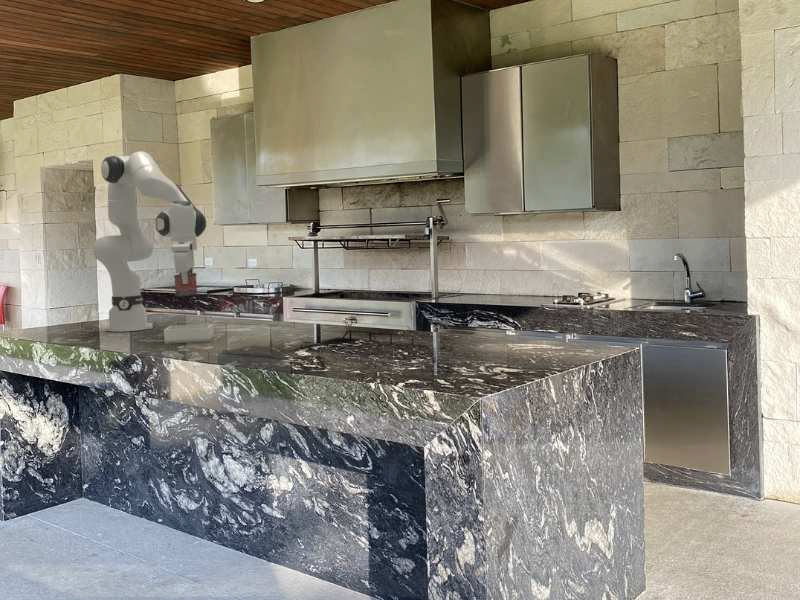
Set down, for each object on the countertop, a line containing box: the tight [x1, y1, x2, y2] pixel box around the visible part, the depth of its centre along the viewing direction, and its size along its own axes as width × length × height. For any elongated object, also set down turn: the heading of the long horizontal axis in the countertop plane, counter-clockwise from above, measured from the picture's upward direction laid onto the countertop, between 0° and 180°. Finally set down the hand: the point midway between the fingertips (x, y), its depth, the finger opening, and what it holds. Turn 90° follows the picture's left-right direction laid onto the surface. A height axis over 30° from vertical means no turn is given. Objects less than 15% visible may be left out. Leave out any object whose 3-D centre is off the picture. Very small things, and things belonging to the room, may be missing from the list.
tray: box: [163, 323, 215, 345], centre depth 312 cm, size 12×16×5 cm
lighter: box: [173, 268, 198, 297], centre depth 310 cm, size 8×3×10 cm, turn 90°
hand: (186, 283), depth 311 cm, fingers closed on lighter, 2 cm apart
